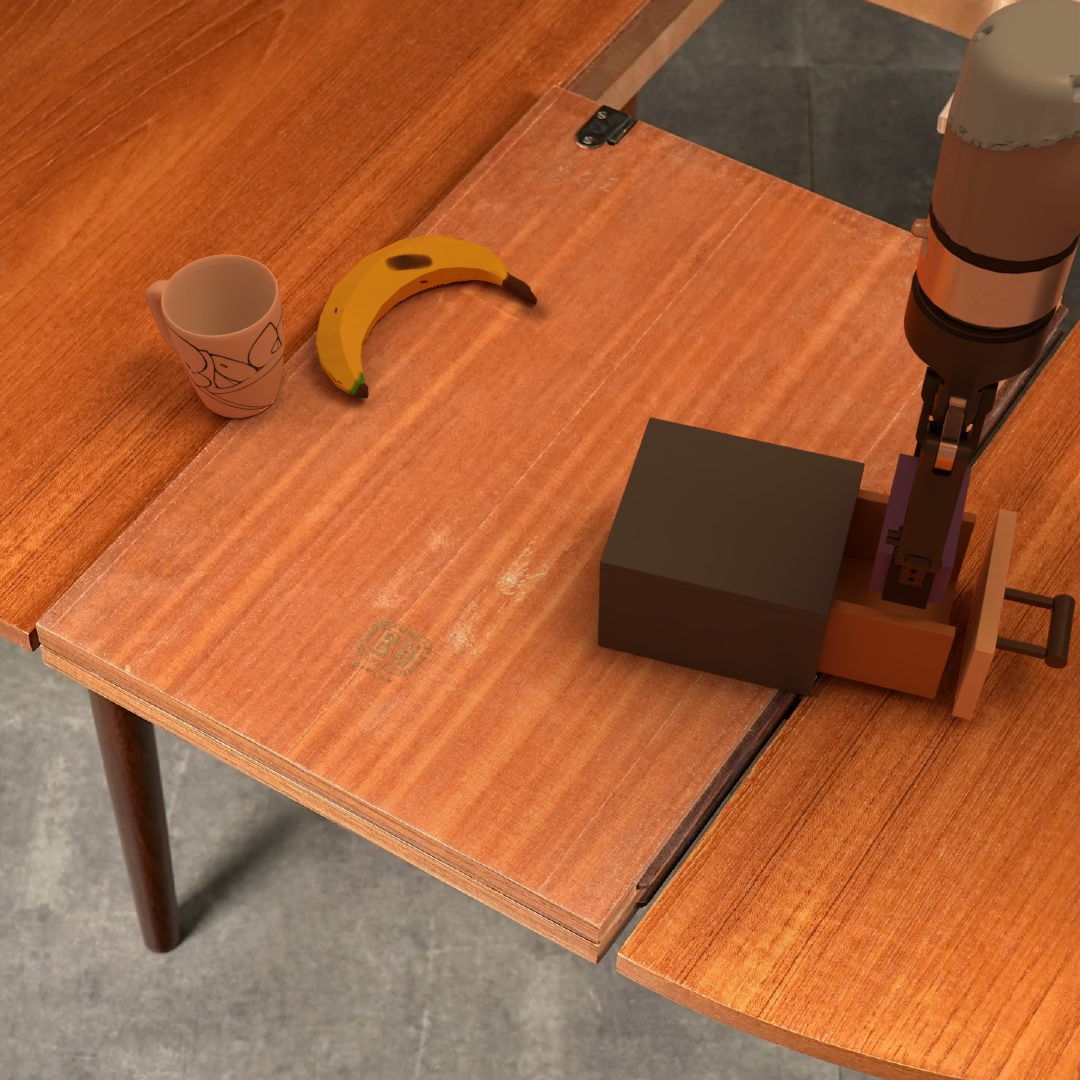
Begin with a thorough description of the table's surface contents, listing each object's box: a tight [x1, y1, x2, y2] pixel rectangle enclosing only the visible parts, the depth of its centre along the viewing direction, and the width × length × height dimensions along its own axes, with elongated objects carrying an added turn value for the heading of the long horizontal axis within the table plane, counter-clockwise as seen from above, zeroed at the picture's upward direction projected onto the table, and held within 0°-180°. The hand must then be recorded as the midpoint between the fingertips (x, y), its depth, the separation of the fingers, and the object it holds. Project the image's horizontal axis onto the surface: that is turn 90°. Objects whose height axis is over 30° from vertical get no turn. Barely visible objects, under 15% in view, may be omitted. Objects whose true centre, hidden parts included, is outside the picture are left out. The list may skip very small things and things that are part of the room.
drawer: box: [817, 488, 1076, 720], centre depth 111 cm, size 18×11×8 cm, turn 73°
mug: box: [144, 253, 285, 419], centre depth 125 cm, size 11×8×10 cm
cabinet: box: [597, 416, 866, 698], centre depth 113 cm, size 15×13×10 cm
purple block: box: [869, 452, 972, 606], centre depth 105 cm, size 4×8×4 cm, turn 163°
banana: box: [314, 233, 538, 400], centre depth 131 cm, size 5×17×15 cm
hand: (915, 545), depth 107 cm, fingers closed on purple block, 8 cm apart
